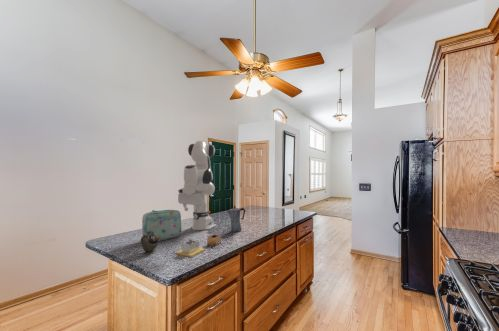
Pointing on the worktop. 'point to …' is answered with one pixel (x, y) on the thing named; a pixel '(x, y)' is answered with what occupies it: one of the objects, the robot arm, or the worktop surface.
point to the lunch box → (162, 224)
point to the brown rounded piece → (214, 240)
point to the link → (190, 246)
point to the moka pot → (235, 218)
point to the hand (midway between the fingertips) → (191, 211)
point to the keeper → (192, 252)
